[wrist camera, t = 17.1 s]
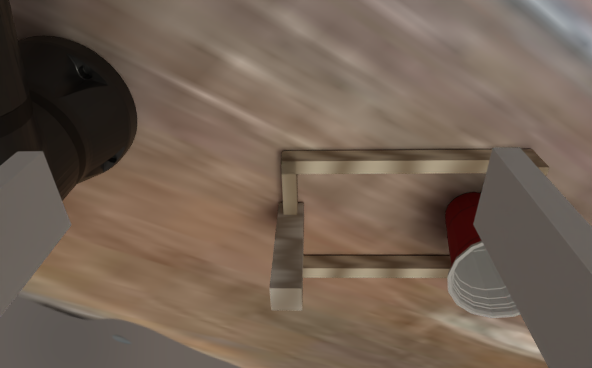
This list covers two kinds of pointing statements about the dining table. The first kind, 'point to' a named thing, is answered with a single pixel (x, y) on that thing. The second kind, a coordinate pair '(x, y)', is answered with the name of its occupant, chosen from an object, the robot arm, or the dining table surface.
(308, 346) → the dining table surface
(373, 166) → the open rectangular frame
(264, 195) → the dining table surface
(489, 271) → the plastic cup
